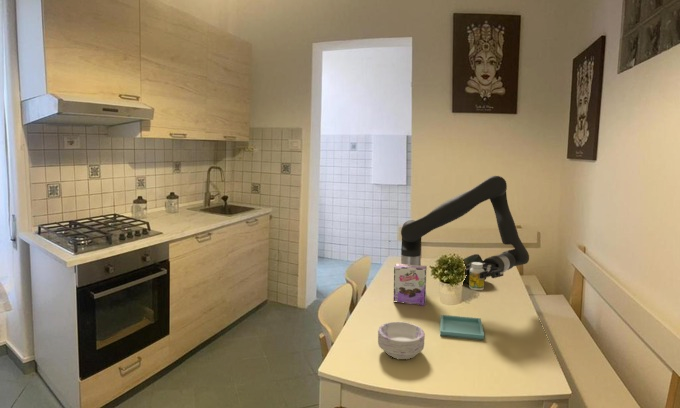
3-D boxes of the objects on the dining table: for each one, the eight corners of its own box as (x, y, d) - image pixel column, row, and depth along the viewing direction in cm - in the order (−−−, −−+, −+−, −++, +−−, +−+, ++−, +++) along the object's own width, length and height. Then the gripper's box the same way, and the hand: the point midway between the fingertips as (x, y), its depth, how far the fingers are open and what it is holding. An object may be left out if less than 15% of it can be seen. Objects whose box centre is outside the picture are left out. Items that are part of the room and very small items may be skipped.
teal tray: (440, 335, 148) (440, 331, 147) (440, 319, 162) (440, 314, 162) (483, 340, 144) (484, 335, 144) (480, 322, 158) (480, 318, 158)
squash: (446, 269, 208) (465, 251, 200) (462, 265, 218) (480, 247, 210) (464, 293, 201) (484, 275, 193) (479, 287, 211) (499, 270, 203)
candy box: (393, 302, 179) (393, 266, 177) (395, 298, 185) (395, 262, 183) (425, 305, 176) (425, 268, 173) (426, 300, 181) (426, 265, 179)
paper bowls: (432, 360, 131) (433, 337, 130) (388, 368, 126) (389, 344, 125) (411, 339, 145) (411, 318, 144) (371, 345, 141) (371, 323, 140)
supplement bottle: (487, 289, 153) (488, 264, 152) (476, 291, 151) (477, 266, 150) (476, 284, 158) (477, 260, 157) (465, 286, 156) (466, 262, 155)
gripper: (480, 252, 168) (456, 260, 157) (514, 259, 157) (491, 268, 146) (479, 270, 169) (456, 279, 158) (513, 278, 158) (490, 288, 147)
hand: (473, 274), depth 152 cm, fingers closed on supplement bottle, 5 cm apart
